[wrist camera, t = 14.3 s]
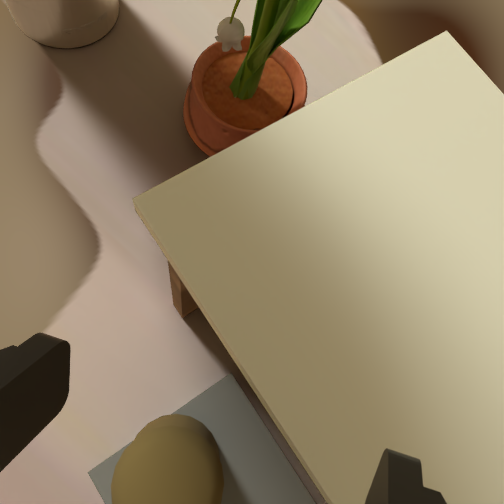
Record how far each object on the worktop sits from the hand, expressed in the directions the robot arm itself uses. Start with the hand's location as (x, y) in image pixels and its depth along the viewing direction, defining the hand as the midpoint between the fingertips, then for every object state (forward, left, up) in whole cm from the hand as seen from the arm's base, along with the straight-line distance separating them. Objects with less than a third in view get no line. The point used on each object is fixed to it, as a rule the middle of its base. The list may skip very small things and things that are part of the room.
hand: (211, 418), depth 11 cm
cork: (+2, -3, -22) cm, 22 cm away
